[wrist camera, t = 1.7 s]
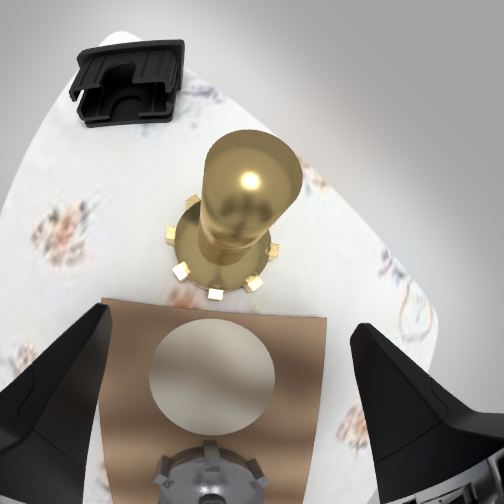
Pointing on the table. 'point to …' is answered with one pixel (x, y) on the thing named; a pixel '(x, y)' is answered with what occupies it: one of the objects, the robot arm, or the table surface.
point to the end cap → (129, 82)
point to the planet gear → (235, 212)
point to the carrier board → (209, 394)
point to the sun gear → (209, 477)
